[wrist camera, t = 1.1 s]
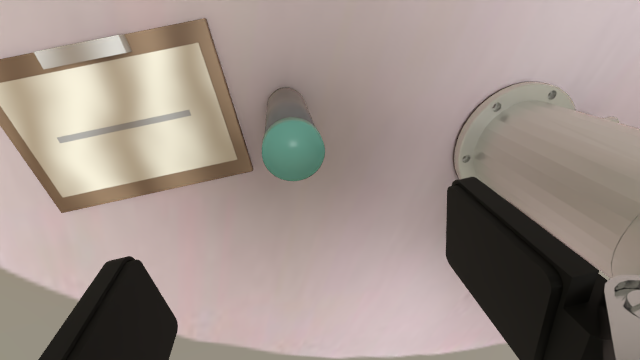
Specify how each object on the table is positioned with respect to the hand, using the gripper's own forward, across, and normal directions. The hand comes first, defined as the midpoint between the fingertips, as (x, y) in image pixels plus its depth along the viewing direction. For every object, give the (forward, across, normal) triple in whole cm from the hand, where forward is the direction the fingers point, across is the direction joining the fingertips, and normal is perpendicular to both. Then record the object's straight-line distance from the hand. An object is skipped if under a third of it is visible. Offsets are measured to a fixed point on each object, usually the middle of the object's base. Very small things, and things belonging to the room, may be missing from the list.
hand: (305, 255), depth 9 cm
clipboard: (+20, +13, -1) cm, 24 cm away
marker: (+20, 0, 0) cm, 20 cm away
